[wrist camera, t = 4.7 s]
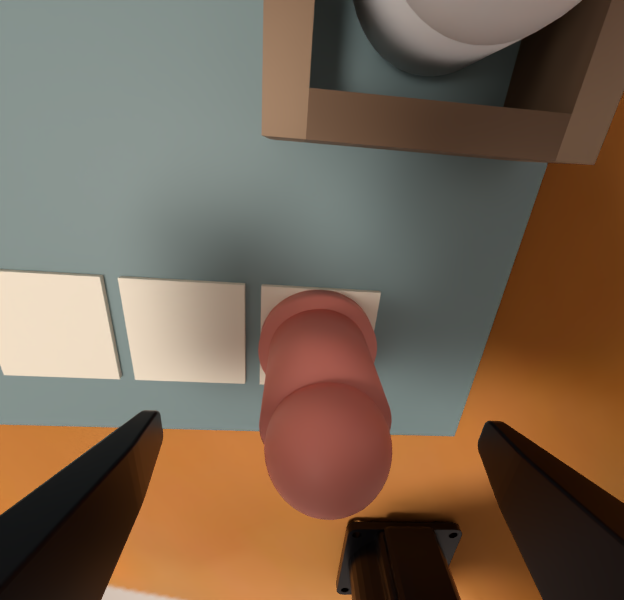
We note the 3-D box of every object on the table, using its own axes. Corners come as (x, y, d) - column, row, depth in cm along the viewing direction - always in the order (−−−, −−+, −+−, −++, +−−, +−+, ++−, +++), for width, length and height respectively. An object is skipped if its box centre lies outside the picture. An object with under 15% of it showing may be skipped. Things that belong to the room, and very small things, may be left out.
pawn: (364, 388, 14) (414, 566, 8) (259, 384, 14) (230, 566, 8) (380, 293, 12) (462, 430, 6) (261, 286, 12) (225, 423, 6)
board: (450, 429, 16) (456, 439, 16) (-184, 412, 14) (-204, 422, 14) (659, -198, 8) (686, -224, 7) (-779, -448, 6) (-889, -509, 5)
